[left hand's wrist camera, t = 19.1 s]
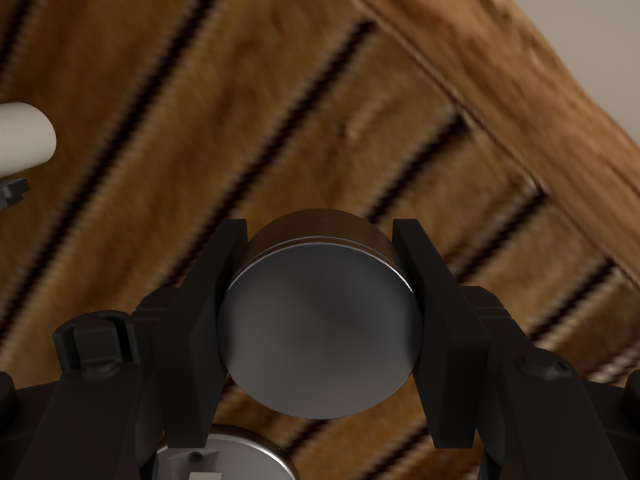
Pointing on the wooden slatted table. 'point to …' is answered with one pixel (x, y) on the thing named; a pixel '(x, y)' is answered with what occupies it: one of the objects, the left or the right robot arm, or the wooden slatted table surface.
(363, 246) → the lid
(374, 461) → the wooden slatted table surface
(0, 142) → the beige cylinder
